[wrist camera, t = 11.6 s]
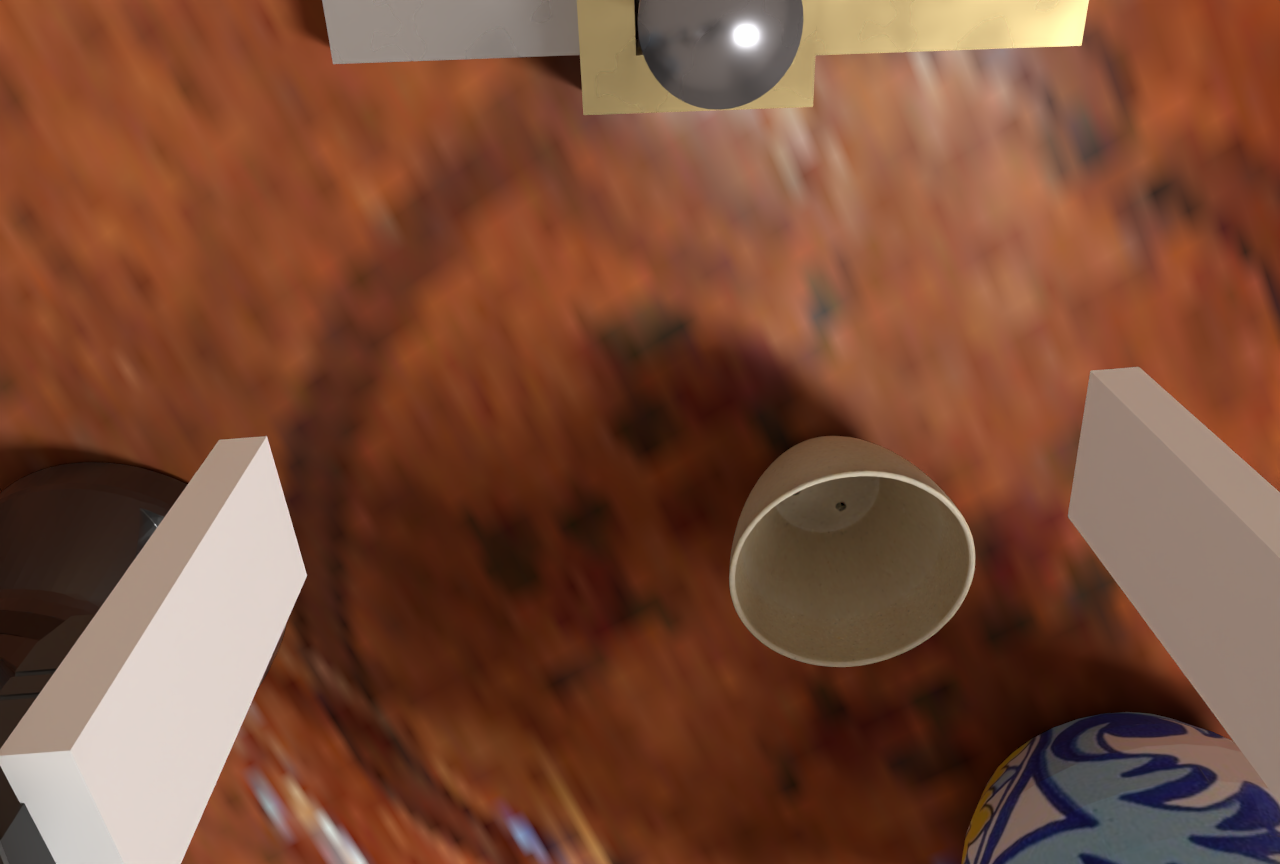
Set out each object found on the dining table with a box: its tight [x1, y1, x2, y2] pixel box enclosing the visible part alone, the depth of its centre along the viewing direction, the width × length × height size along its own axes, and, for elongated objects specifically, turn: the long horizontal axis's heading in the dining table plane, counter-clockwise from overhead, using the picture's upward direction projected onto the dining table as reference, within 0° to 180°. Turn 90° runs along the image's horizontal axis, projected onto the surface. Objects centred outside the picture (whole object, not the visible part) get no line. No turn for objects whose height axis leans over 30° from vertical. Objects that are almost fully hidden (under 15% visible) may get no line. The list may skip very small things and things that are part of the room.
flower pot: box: [729, 436, 975, 667], centre depth 44 cm, size 10×10×7 cm
